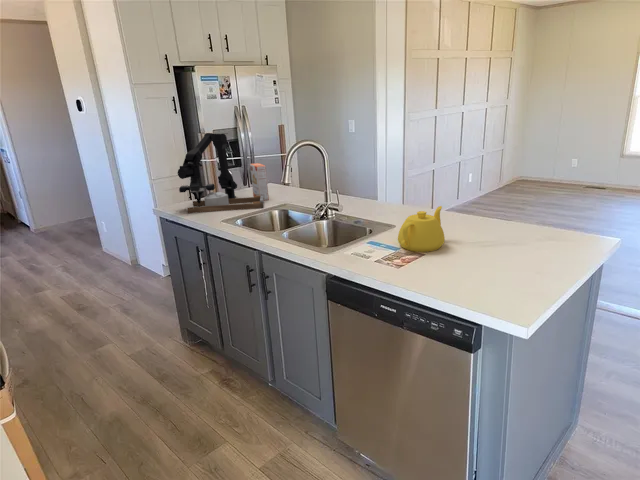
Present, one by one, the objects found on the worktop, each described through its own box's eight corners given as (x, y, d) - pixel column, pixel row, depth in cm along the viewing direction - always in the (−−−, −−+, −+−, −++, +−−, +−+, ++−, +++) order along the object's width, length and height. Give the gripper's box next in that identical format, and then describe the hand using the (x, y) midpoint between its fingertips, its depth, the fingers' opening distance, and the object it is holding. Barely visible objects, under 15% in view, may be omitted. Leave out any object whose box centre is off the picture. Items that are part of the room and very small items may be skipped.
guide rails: (193, 206, 252) (192, 199, 250) (263, 201, 255) (263, 194, 254) (188, 213, 236) (187, 206, 235) (263, 208, 239) (262, 201, 238)
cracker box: (252, 197, 268) (249, 163, 261) (262, 196, 270) (259, 162, 263) (259, 201, 255) (256, 166, 249) (269, 200, 258) (266, 165, 251)
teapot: (422, 233, 183) (423, 202, 179) (459, 242, 170) (461, 208, 166) (384, 248, 168) (384, 214, 163) (422, 258, 155) (423, 222, 151)
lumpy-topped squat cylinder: (231, 206, 246) (229, 192, 243) (212, 211, 237) (210, 196, 234) (220, 204, 253) (219, 190, 250) (201, 209, 244) (199, 194, 241)
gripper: (175, 179, 230) (179, 207, 235) (210, 177, 231) (214, 205, 236) (179, 175, 240) (183, 203, 245) (213, 173, 242) (216, 200, 247)
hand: (199, 203), depth 243 cm, fingers closed
